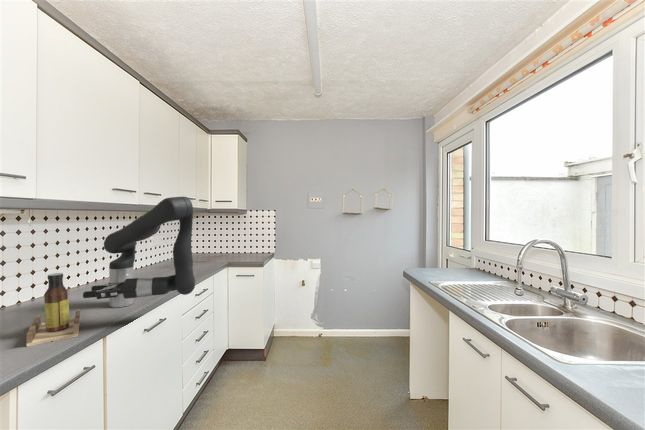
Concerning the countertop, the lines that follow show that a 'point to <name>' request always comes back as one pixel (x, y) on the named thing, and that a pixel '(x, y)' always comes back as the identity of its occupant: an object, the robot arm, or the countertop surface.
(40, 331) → the track
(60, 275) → the sauce bottle
